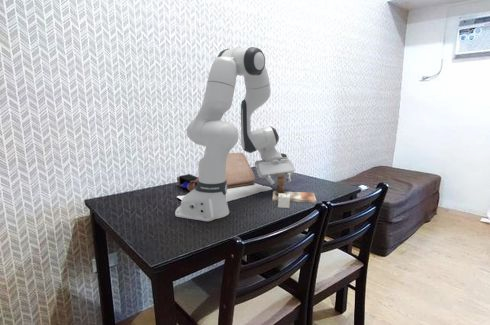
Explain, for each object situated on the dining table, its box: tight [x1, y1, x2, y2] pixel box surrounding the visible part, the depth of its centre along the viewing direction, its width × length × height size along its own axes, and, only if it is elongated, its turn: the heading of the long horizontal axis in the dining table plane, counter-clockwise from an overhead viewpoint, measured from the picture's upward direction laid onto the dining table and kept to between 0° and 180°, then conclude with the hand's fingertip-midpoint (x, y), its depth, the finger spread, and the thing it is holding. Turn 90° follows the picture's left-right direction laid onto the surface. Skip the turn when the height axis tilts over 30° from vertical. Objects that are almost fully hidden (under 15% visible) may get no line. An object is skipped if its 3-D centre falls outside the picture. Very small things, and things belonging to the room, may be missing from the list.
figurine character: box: [176, 173, 199, 192], centre depth 156 cm, size 7×8×15 cm
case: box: [226, 152, 256, 189], centre depth 168 cm, size 20×21×16 cm
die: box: [277, 193, 291, 209], centre depth 134 cm, size 5×5×5 cm
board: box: [272, 190, 317, 204], centre depth 145 cm, size 20×11×1 cm, turn 83°
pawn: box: [274, 174, 286, 196], centre depth 145 cm, size 5×5×10 cm
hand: (281, 182), depth 144 cm, fingers open, 8 cm apart
